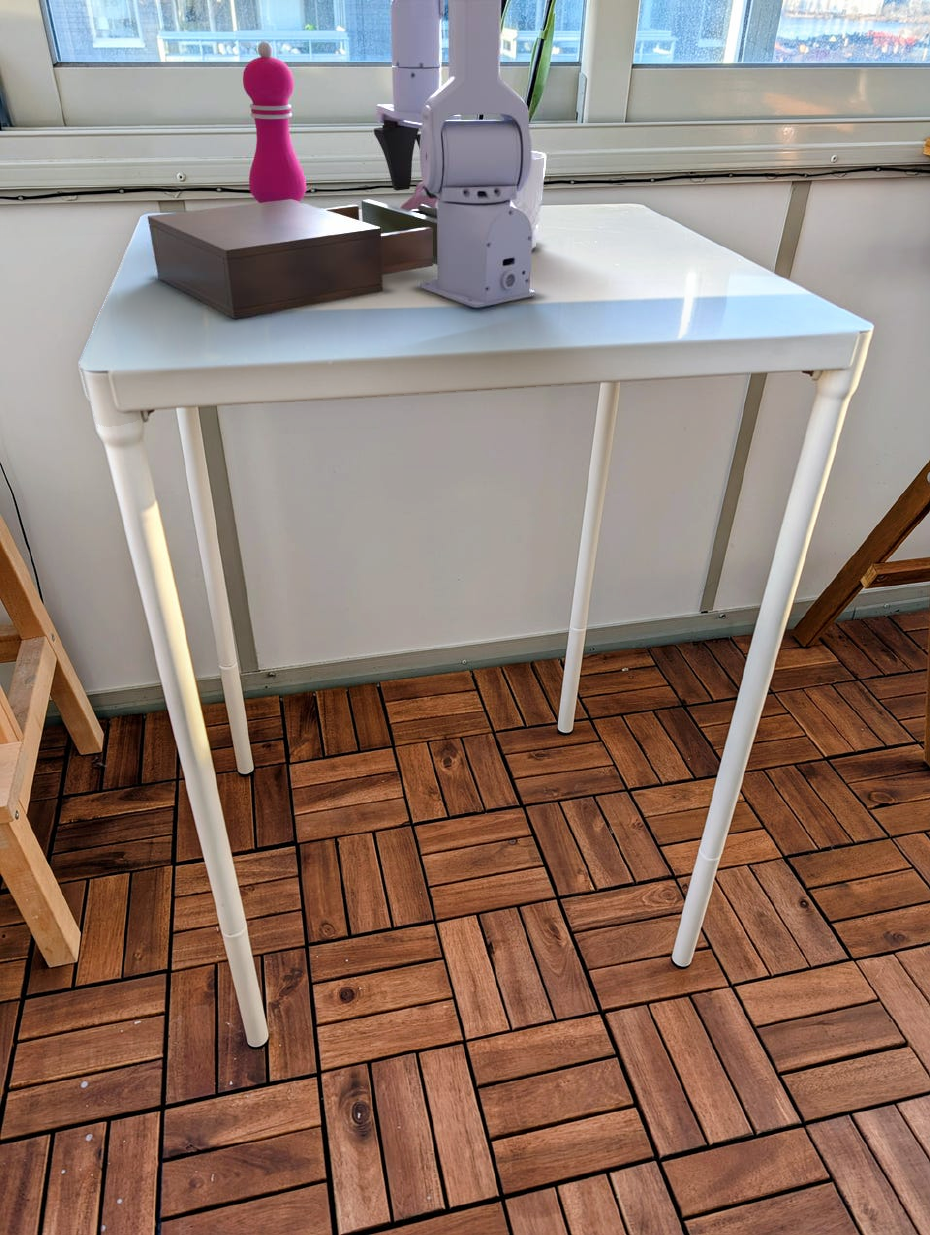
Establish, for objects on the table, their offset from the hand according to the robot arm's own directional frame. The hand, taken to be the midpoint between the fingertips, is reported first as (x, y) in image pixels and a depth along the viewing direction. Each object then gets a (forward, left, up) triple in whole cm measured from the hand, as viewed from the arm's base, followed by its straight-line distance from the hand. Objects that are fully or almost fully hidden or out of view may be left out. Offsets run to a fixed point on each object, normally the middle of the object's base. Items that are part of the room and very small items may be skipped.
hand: (418, 194), depth 113 cm
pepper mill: (+14, +12, -5) cm, 19 cm away
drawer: (-12, +15, -4) cm, 19 cm away
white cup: (-13, -4, -5) cm, 14 cm away
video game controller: (0, 0, -5) cm, 5 cm away
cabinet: (-12, +28, -4) cm, 30 cm away
